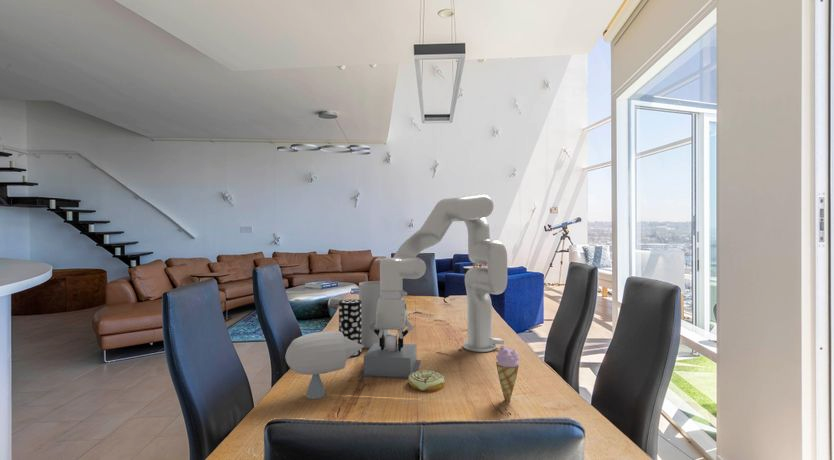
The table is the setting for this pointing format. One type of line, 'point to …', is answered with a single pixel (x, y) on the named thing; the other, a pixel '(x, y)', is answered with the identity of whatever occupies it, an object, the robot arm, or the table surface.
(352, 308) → the spotted tube
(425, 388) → the decorated donut
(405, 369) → the lid
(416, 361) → the rubber mat
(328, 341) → the jet engine
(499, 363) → the ice cream cone
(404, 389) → the table surface
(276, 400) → the table surface
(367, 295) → the cylinder vase
